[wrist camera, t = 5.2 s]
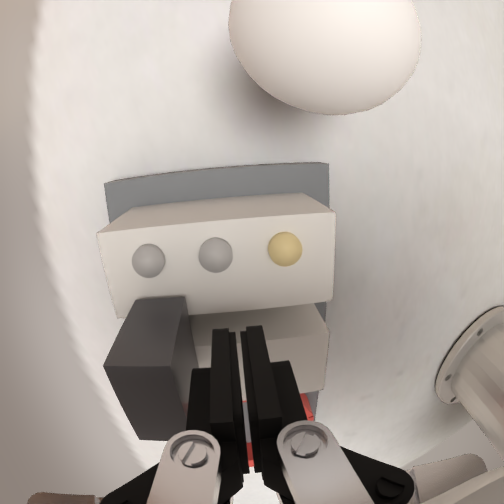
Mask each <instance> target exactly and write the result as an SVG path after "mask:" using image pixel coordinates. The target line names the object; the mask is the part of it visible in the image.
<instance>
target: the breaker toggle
mask: <svg viewBox="0 0 504 504" xmlns="http://www.w3.org/2000/svg"><path fill="white" fill-rule="evenodd" d="M103 367H104V369H105V371H106V374H107V376H108V378H109V380H110V383H111V385H112V387H113V389H114V391H115V393H116V396H117V398H118V400H119V402H120V404H121V406H122V408H123V410H124V412H125V414H126V416H127V418H128V420H129V421H130V423H131V425H132V427H133V429H134V431H135V432H136V434H137V436H138V438H139V440H156V441H168V440H170V439H171V438H172V437H173V436H174V435H176V434H178V433H180V432H184V431H186V422H187V411H188V401H189V391H190V381H191V372H192V369H193V368H199V365H198V360H197V356H196V351H195V346H194V341H193V336H192V331H191V326H190V320H189V315H188V310H187V304H186V298H185V296H184V297H169V298H154V299H136V300H135V302H134V304H133V305H132V307H131V309H130V311H129V313H128V315H127V317H126V319H125V321H124V323H123V325H122V327H121V329H120V331H119V333H118V335H117V337H116V339H115V341H114V344H113V346H112V348H111V350H110V352H109V354H108V356H107V358H106V360H105V363H104V365H103Z"/></svg>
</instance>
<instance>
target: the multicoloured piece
mask: <svg viewBox="0 0 504 504" xmlns="http://www.w3.org/2000/svg"><path fill="white" fill-rule="evenodd" d="M104 188H105V195H106V202H107V209H108V215H109V221H110V224H109V225H107V226H106V227H104V228H103V229H102V230H100V231H99V232H98V233H96V234H97V239H98V244H99V249H100V254H101V258H102V263H103V267H104V271H105V275H106V279H107V283H108V287H109V291H110V295H111V299H112V302H113V306H114V309H115V313H116V316H117V318H126V317H127V315H128V313H129V311H130V309H131V307H132V305H133V304H134V302H135V300H136V299H154V298H169V297H184V296H185V298H186V304H187V310H188V315H189V320H190V326H191V331H192V336H193V341H194V346H195V351H196V356H197V360H198V365H199V368H209V367H211V348H212V329H222V328H229V332H235V333H236V343H237V353H238V362H239V372H240V381H241V390H242V401H243V412H244V422H245V432H246V442H247V452H248V462H249V467H253V466H254V462H253V453H252V445H251V436H250V427H249V418H248V409H247V400H246V391H245V380H244V370H243V359H242V349H241V338H240V331H246V326H257V325H262V327H263V331H264V336H265V340H266V345H267V350H268V354H269V359H270V362H278V361H286V360H289V361H290V363H291V366H292V370H293V373H294V376H295V380H296V383H297V386H298V389H299V393H300V396H301V399H302V403H303V406H304V409H305V413H306V416H307V419H308V421H315V414H316V407H317V399H318V391H319V390H323V389H324V381H325V373H326V364H327V355H328V346H329V335H330V332H329V330H328V328H327V326H326V324H325V316H326V301H332V298H333V281H334V261H335V229H336V212H335V211H333V210H331V209H330V208H329V164H327V163H321V162H310V163H279V164H259V165H244V166H230V167H218V168H207V169H197V170H187V171H178V172H170V173H162V174H154V175H147V176H140V177H133V178H127V179H120V180H114V181H111V182H108V183H105V184H104Z"/></svg>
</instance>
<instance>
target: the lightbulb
mask: <svg viewBox="0 0 504 504" xmlns="http://www.w3.org/2000/svg"><path fill="white" fill-rule="evenodd" d="M228 25H229V33H230V41H231V43H232V46H233V49H234V52H235V54H236V57H237V58H238V60H239V61H240V63H241V64H242V66H243V68H244V69H245V71H246V72H247V73H248V74H249V76H250V77H251V78H252V79H253V80H254V81H255V82H256V83H257V84H258V85H259V86H260V87H261V88H262V89H264V90H265V91H266V92H268V93H269V94H270V95H272V96H273V97H275V98H277V99H278V100H280V101H282V102H284V103H286V104H288V105H290V106H293V107H296V108H299V109H302V110H305V111H307V112H311V113H317V114H323V115H347V114H352V113H357V112H362V111H367V110H370V109H372V108H374V107H376V106H379V105H381V104H383V103H384V102H386V101H387V100H388V99H390V98H391V97H392V96H394V95H395V94H396V93H398V92H399V91H400V90H401V89H402V88H403V86H404V85H405V84H406V82H407V81H408V80H409V79H410V77H411V76H412V74H413V73H414V70H415V68H416V66H417V63H418V61H419V55H420V49H421V41H422V39H421V27H420V23H419V19H418V16H417V12H416V9H415V7H414V5H413V3H412V1H411V0H232V2H231V5H230V13H229V24H228Z"/></svg>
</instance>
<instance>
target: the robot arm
mask: <svg viewBox="0 0 504 504" xmlns="http://www.w3.org/2000/svg"><path fill="white" fill-rule="evenodd" d="M240 338H241V349H242V359H243V370H244V380H245V391H246V400H247V409H248V418H249V427H250V436H251V445H252V453H253V462H254V470H255V473H258V472H262V478H263V480H264V485H265V486H267V487H269V488H270V489H272V490H274V491H275V492H276V494H277V497H278V500H279V502H280V504H504V466H503V467H499V468H496V469H493V470H490V471H487V468H486V465H485V463H484V461H483V459H482V458H480V457H479V456H478V455H475V454H464V455H461V456H457V457H453V458H450V459H446V460H441V461H437V462H433V463H428V464H423V465H418V466H413V468H412V469H410V470H402V469H400V468H397V467H394V466H391V465H389V464H386V463H383V462H380V461H377V460H374V459H372V458H369V457H366V456H364V455H361V454H358V453H356V452H353V451H351V450H348V449H346V448H344V447H341V446H339V444H338V442H337V440H336V439H335V437H334V435H333V434H332V432H331V431H330V430H329V429H328V428H327V427H326V426H324V425H323V424H321V423H318V422H315V421H308V419H307V416H306V413H305V409H304V406H303V403H302V399H301V396H300V393H299V389H298V386H297V383H296V380H295V376H294V373H293V370H292V366H291V363H290V361H289V360H286V361H278V362H270V359H269V354H268V350H267V345H266V340H265V336H264V331H263V327H262V325H257V326H246V331H240ZM435 388H436V394H437V395H438V397H439V398H440V400H441V401H442V402H443V403H446V404H454V403H458V402H461V404H462V405H463V406H464V407H465V409H466V410H467V411H468V413H469V414H470V415H471V417H472V418H473V419H474V421H475V422H476V423H477V425H478V426H479V427H480V429H481V430H482V431H483V433H484V434H485V436H486V437H487V438H488V440H489V441H490V443H491V444H492V445H493V447H494V448H495V449H496V451H497V452H498V454H499V455H500V457H501V458H502V460H503V461H504V307H502V306H501V307H497V308H494V309H492V310H490V311H488V312H487V313H485V314H484V315H483V316H481V317H480V318H479V319H478V320H477V321H475V322H474V323H473V324H472V325H471V326H470V327H469V328H468V329H467V330H466V331H465V333H464V334H463V335H462V336H461V337H460V339H459V340H458V341H457V342H456V344H455V345H454V347H453V348H452V349H451V351H450V352H449V354H448V356H447V357H446V359H445V361H444V362H443V365H442V367H441V369H440V371H439V374H438V377H437V380H436V386H435ZM247 473H250V471H249V462H248V452H247V442H246V432H245V422H244V412H243V401H242V390H241V381H240V372H239V362H238V353H237V343H236V333H235V332H229V328H222V329H212V348H211V367H209V368H193V369H192V372H191V381H190V391H189V401H188V411H187V422H186V431H184V432H180V433H178V434H176V435H174V436H173V437H172V438H171V439H170V440H168V442H167V444H166V445H165V447H164V450H163V453H162V456H161V459H160V462H159V463H157V464H156V465H154V466H153V467H151V468H150V469H148V470H147V471H145V472H144V473H142V474H141V475H139V476H137V477H136V478H134V479H133V480H131V481H129V482H128V483H126V484H125V485H123V486H121V487H120V488H118V489H116V490H114V491H113V492H111V493H109V494H108V495H106V496H105V497H96V496H95V495H74V494H73V495H72V494H57V493H47V492H40V493H35V494H33V495H32V496H31V497H30V498H29V499H28V502H27V504H233V495H235V494H236V493H237V492H238V491H239V490H240V489H241V488H242V487H243V482H244V479H243V474H247Z"/></svg>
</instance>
